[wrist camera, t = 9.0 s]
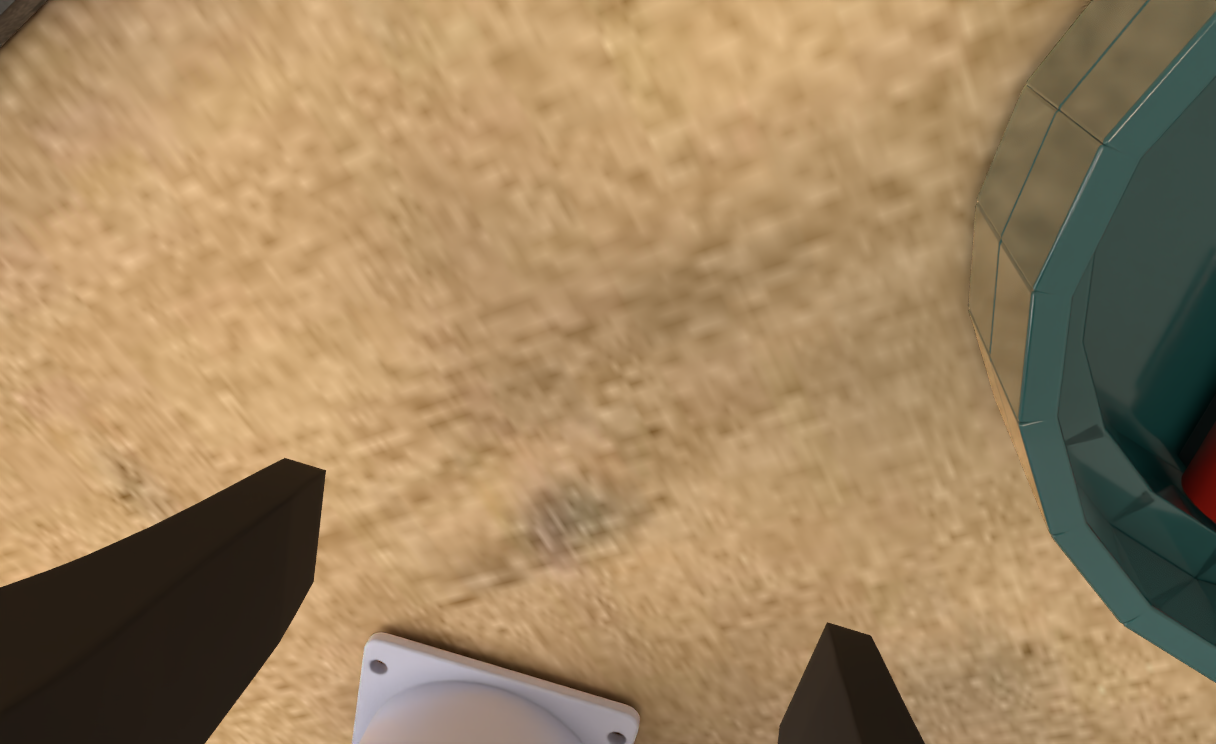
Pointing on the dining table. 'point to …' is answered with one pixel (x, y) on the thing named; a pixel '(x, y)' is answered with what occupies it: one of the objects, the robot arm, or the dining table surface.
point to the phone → (15, 15)
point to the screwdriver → (1202, 463)
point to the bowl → (1111, 305)
